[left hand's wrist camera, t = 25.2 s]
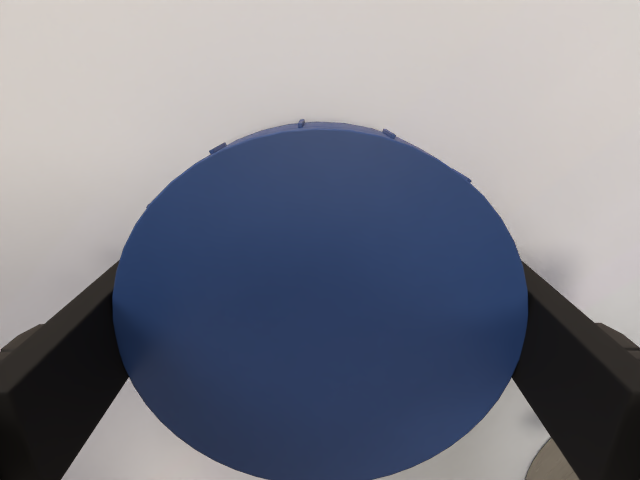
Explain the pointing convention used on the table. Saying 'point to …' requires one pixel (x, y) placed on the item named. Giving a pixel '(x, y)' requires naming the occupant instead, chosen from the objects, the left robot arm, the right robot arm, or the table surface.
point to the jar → (550, 465)
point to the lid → (320, 304)
